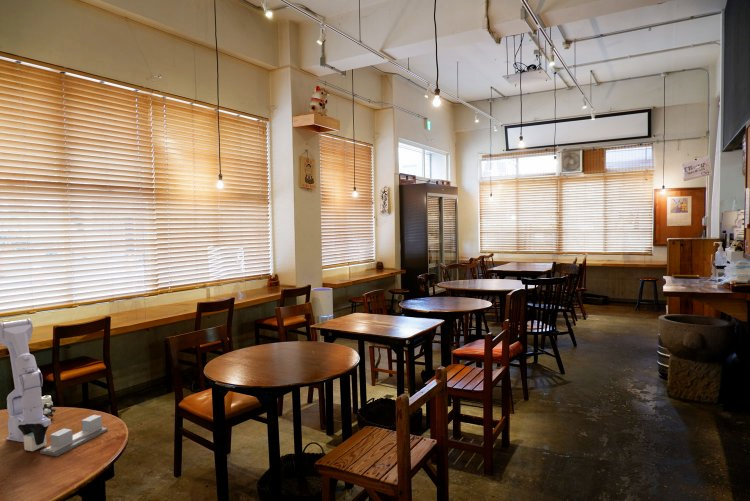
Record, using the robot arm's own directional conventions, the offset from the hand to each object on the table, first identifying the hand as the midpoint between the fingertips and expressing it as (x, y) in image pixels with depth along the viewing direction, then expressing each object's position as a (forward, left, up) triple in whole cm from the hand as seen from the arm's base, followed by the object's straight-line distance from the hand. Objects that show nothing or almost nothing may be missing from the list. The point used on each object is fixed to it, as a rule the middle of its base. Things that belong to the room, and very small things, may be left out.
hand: (35, 443), depth 165 cm
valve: (-25, +23, -2) cm, 34 cm away
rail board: (+9, +8, -2) cm, 12 cm away
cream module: (0, 0, -1) cm, 1 cm away
